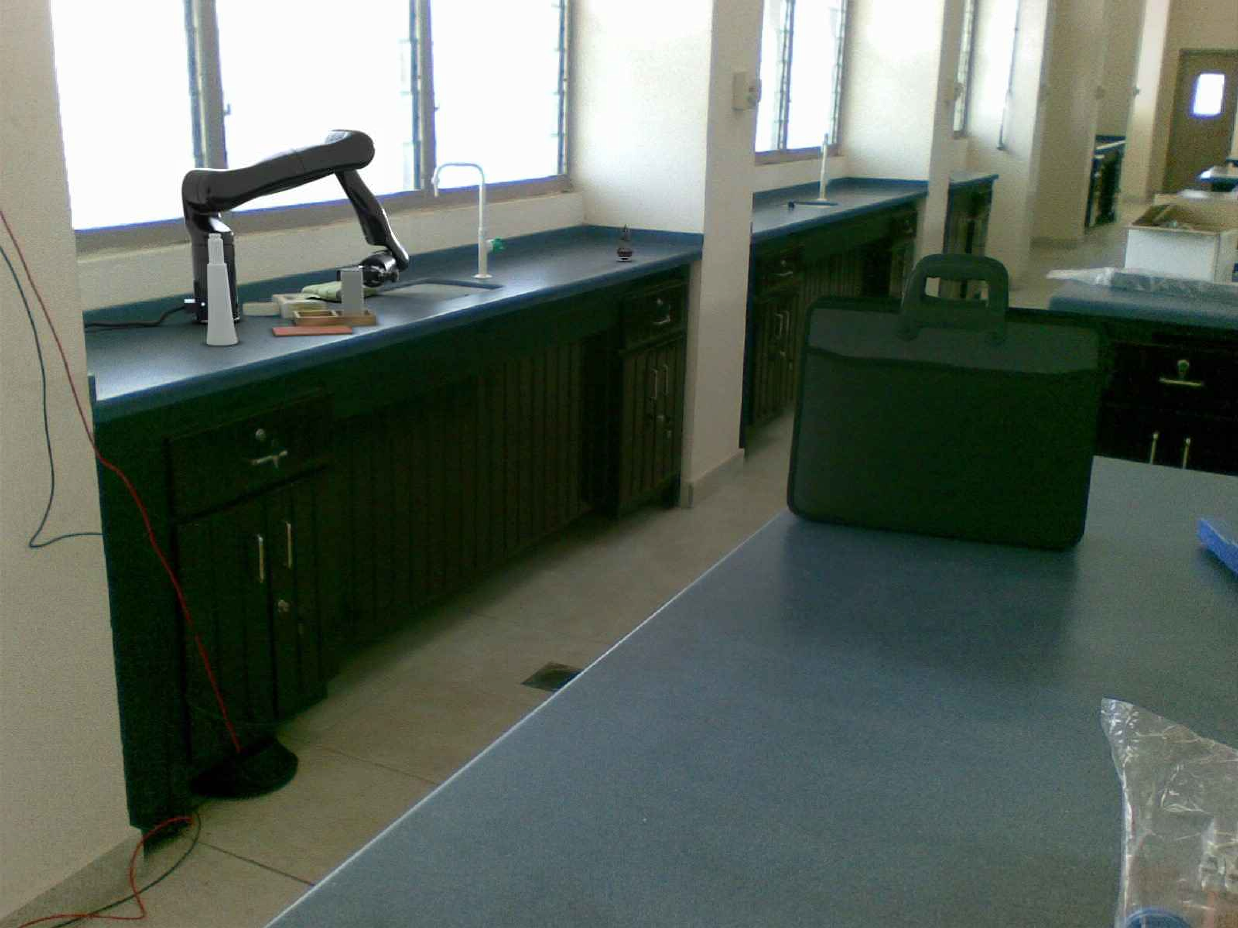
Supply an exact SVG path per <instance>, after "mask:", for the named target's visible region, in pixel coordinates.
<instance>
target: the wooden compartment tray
mask: <svg viewBox="0 0 1238 928" xmlns="http://www.w3.org/2000/svg"><path fill="white" fill-rule="evenodd" d="M293 321H294V323H295V325H296V327H301V326H333V325H348V327H357V326H358V327H361V326H362V327H363V326H377V325H378V324H377V322H378V321H377V315H376V313H374V311H373V310H372V309H371V308H364V315H357V316H343V314H342V309H320V310H319V309H318V310H317V309H316V310H294V311H293Z"/></svg>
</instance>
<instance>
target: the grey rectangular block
mask: <svg viewBox="0 0 1238 928" xmlns="http://www.w3.org/2000/svg"><path fill="white" fill-rule="evenodd" d="M342 268H343V267H342ZM341 270H342V271H341V281H340V282H341V291H342V301H341V310H342V314H343V316H357V315H364V309H365V306H364V305H365V303H364V301H365V300H364V298H365V297H363V272H362V269H360V268H354V267H345V268H343V269H341Z"/></svg>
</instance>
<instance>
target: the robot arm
mask: <svg viewBox="0 0 1238 928" xmlns="http://www.w3.org/2000/svg"><path fill="white" fill-rule="evenodd" d="M375 154H376V145H375V142H374V139H372V137H371V136H370V135H368V134H367V133H366V132H363V131H361V130H357V129H356V130H355V129H342V128H337V129H332V130H330V131H328V132H327V134H326V135H325V137H324V139H323V143H309V144H308V143H307V144H297V145H296V144H295V145H289V146H284V147H281V148H277V149H273V150H270V151H268V152H266V153H264V154H262V155H260V156H259V157H258V158H256V160H255V161H253V162H252V163H250V164H248V165H245V166H240V167H234V168H228V169H226V168H225V169H219V168H203V167H197V168H192V169H190V170H189V171H187V172H186V173H185V175H184V176H183V178H182V181H181V187H180V190H181V191H180V193H181V194H180V195H181V204H182V212H183V219H184V220H183V221H184V227H185V230H186V232H187V234H188V236H189V242H190V243H189V244H190V257H191V270H192V286H193V298H191V299H190V298H188V299H184V304H181V305H179V306H175V307H172V308H170V309H167V310H165V311H164V312H163V313H162V314H161V315H160V317H159V318H158V319H157V320H155V321H141V320H140V321H118V322H108V321H107V322H106V321H98V320H97V321H96V320H95V321H94V320H93V321H87V322H84V323H85V329H87V328H89V327H101V328H102V327H104V328H122V327H148V328H149V327H157V326H160V325H161V324H163V323H164V321H165V319H166V318H167V317H168V316H170V315H172V314H174V313H177V312H180V311H183V310H184V313H185V314H194V315H195V320H194V321H195V323H196V324H207V325H208V279H207V264H209V250H208V239H210V237H209V234H221V237H220V239H222V242H223V257H224V263H225V264H226V267H227V275H228V283H229V292H230V301H231V309H232V317H233V323H236V322H238V321H240V320H241V319H240V310H239V298H238V297H239V296H238V295H239V294H238V293H239V292H238V279H237V278H238V277H237V264H236V247H235V234H234V232H233V230H232V229H231V228H230V227H228V226H227V225H226V224H225V223H224V221H223V219H222V217H221V213H226V212H229V211H231V210H234V209H236V208H238V207H240V206H242V205H244V204H246V203H248V202H251V201H253V200H255V199H258V198H261V197H266V196H271V195H275V194H278V193H283V192H286V191H289V190H290V191H291V190H292V189H293V190H294V189H296V188H299V187H301V186H304V185H307V184H311V183H313V182H316V181H319V180H321V179H324V178H326V177H330V176H332V175H334V176H335V178H336V180H337V181H338V183H339V184H340V186H341V188H342V189H343V192H344V194H345V195H346V197H347V199H348V201H349V203H350V204H351V207H352V209H353V211H354V213H355V216H356V218H357V222H358V223H359V226H360V230H361V231H362V234H363V238H364V239H365V242H366V243H367V245H369V246H374V247H383V248H381V249H377V250H373V251H371V252H369V253H368V255H367V256H366V257H364V258H363V259H361V260H360V261H359V263H358V264H357V266H355V267H353V268H360V269H362V272H363V285H365V286H367V287H370V288H376V287H377V288H379V287H381V286H382V285H384V284H387V283H389V281H390V282H391V283H392V284H395V283H398V280H399V274H404V273H406V272H407V271H408V270H409V267H410V258H409V255H408V252H407V250H405V248H404V247H403V245H402V244H401V242H400V241H399V240H398V238H397V237H396V235H395V234H394V232H393V230H392V228H391V226H390V223H389V220H388V217H387V214H386V212H385V211H386V210H385V209H384V207H383V206H382V203H381V202H380V200H379V199H378V198H377V197H376V196H375V194H374V193H373V192H372V190H371V189H370V188H369V187H368V186H367V185H366V183H365V181H364V180H363V179H362V177H361V175H360V173H359V171H358V170H362V169H365V168H366V167H368V166H369V165H370V164H371V163H372V162H373V160H374V158H375V156H376V155H375ZM343 268H346V267H345V266H344V267H343V266H342V267H340V268H339V269H336V270H335V282H336V281H337V282H339V281H340V282H341V271H342V270H341V269H343Z"/></svg>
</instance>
